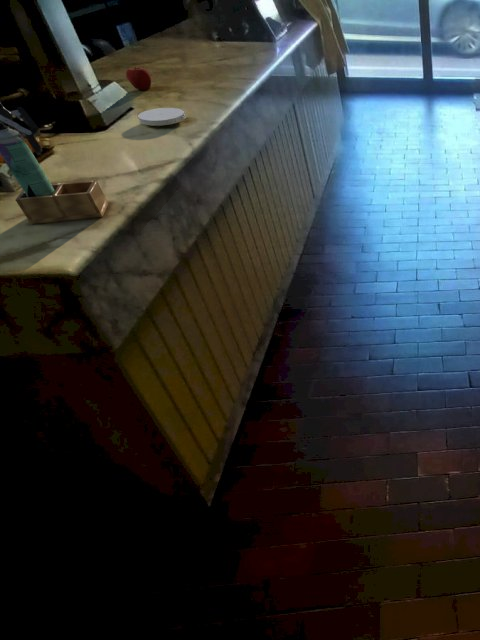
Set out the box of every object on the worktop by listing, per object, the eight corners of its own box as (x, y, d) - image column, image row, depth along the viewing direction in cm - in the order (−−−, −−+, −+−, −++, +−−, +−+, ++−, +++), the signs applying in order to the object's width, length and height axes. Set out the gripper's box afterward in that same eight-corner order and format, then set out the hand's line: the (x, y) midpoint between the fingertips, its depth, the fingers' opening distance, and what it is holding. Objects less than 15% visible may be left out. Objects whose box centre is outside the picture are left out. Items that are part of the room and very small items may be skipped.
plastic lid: (168, 130, 169) (165, 122, 167) (131, 126, 171) (127, 118, 169) (196, 118, 179) (193, 110, 177) (160, 113, 181) (157, 106, 179)
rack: (31, 224, 121) (14, 199, 117) (40, 209, 127) (25, 186, 122) (102, 216, 125) (89, 193, 121) (108, 203, 131) (96, 180, 126)
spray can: (60, 203, 127) (8, 116, 113) (68, 210, 125) (16, 122, 111) (34, 210, 124) (-23, 122, 110) (42, 217, 122) (-15, 128, 108)
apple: (129, 88, 200) (120, 65, 195) (151, 85, 204) (142, 62, 199) (136, 93, 196) (126, 69, 191) (158, 89, 201) (149, 67, 195)
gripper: (-79, 85, 107) (-27, 157, 110) (3, 74, 115) (50, 141, 117) (-66, 107, 113) (-17, 174, 116) (12, 95, 121) (56, 158, 124)
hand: (17, 157), depth 117 cm, fingers open, 8 cm apart
